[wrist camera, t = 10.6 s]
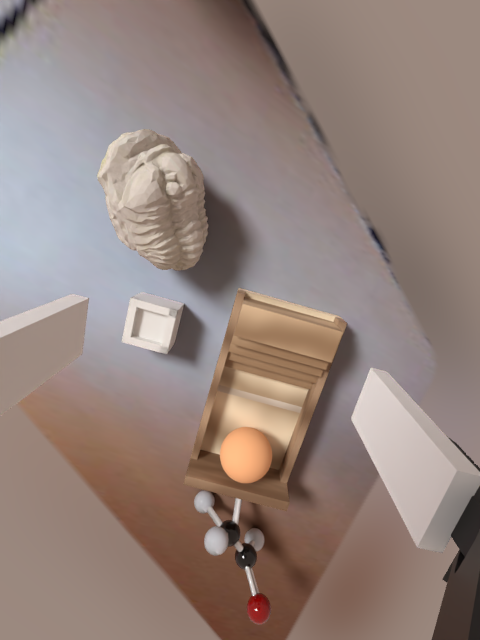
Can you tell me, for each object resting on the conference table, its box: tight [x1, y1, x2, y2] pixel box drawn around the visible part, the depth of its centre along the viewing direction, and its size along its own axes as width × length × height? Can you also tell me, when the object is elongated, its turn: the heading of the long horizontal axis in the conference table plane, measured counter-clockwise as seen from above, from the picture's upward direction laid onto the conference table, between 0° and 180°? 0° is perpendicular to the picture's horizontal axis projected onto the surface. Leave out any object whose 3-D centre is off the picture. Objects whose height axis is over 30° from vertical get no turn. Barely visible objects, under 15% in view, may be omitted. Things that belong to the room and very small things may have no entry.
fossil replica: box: [97, 129, 209, 271], centre depth 31 cm, size 12×8×10 cm
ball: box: [220, 427, 272, 483], centre depth 38 cm, size 6×6×6 cm
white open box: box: [122, 292, 184, 354], centre depth 37 cm, size 5×5×4 cm
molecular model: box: [194, 490, 271, 625], centre depth 40 cm, size 8×12×11 cm
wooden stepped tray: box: [183, 288, 347, 511], centre depth 37 cm, size 22×12×6 cm, turn 164°
